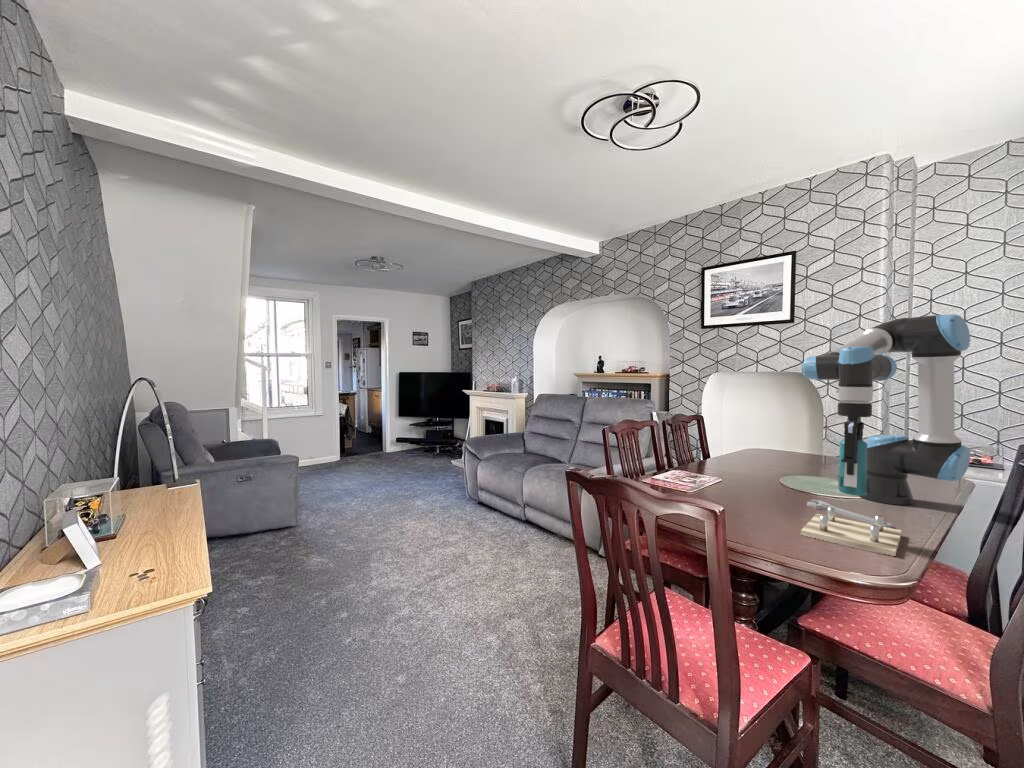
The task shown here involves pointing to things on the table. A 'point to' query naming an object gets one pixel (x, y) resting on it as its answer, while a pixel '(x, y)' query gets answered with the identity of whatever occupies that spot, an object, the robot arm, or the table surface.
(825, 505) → the adjustable wrench
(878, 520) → the steel pegs
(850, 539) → the birch board
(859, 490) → the beverage bottle
